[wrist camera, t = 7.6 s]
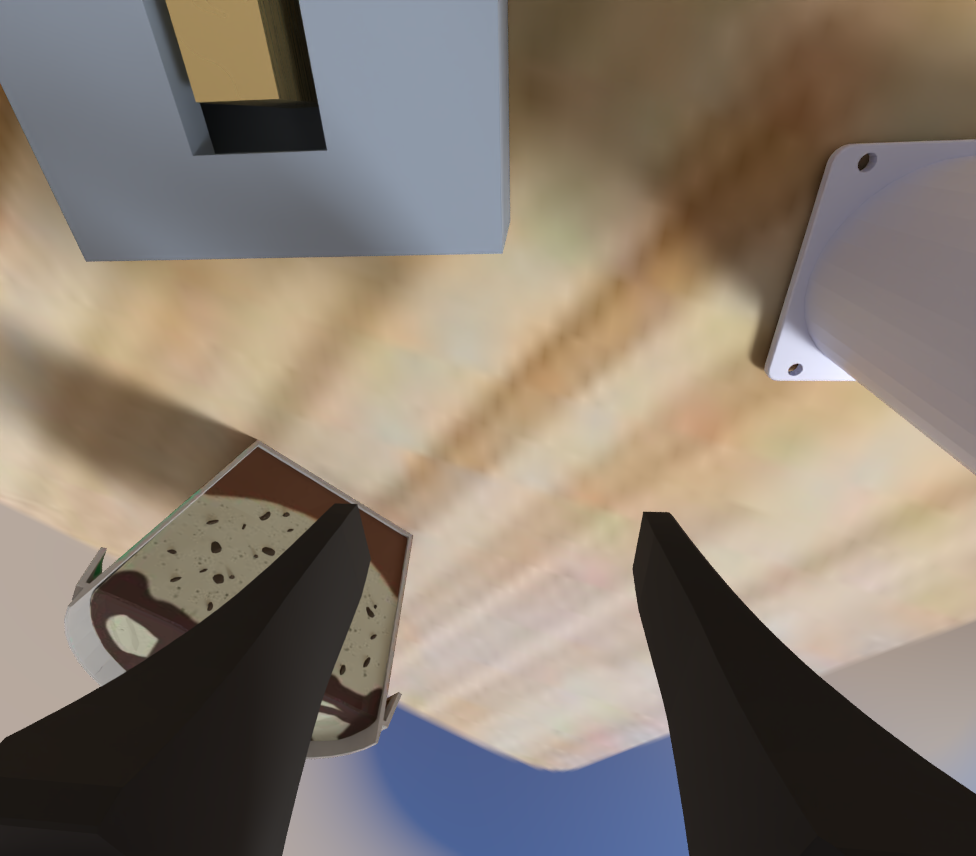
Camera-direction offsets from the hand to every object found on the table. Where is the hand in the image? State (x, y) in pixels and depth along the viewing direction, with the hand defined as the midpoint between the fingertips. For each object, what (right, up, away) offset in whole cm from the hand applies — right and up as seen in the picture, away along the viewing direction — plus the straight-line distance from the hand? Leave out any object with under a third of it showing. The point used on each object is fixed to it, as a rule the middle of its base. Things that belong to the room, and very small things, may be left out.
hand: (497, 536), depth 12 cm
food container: (-10, -2, +14) cm, 17 cm away
